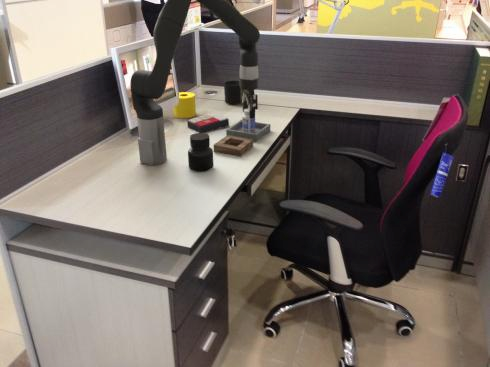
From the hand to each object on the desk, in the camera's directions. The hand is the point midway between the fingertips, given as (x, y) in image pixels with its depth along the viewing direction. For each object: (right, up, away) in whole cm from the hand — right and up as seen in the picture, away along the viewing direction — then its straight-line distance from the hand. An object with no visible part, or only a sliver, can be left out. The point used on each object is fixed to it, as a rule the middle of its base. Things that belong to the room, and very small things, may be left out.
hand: (248, 115), depth 197 cm
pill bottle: (0, -7, +4) cm, 8 cm away
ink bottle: (-17, -23, -26) cm, 39 cm away
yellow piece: (-30, +4, +27) cm, 40 cm away
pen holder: (-7, +13, +44) cm, 46 cm away
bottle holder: (-6, -15, -11) cm, 20 cm away
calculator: (-18, -4, +13) cm, 22 cm away
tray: (0, -7, +4) cm, 8 cm away
